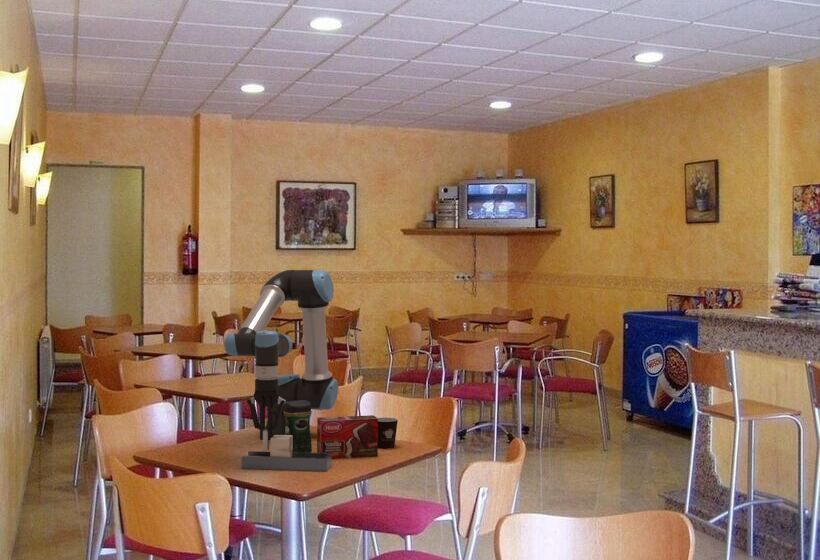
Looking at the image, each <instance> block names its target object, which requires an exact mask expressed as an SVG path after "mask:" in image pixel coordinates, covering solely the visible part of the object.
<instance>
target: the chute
mask: <svg viewBox="0 0 820 560" xmlns="http://www.w3.org/2000/svg"><path fill="white" fill-rule="evenodd" d="M332 462H333V459H332V453H317V452H311V453H309V452H293V455H292V457H270V451H269V450H268V451H263V450H247V455H242V456H241V470H270V471H300V472H301V471H304V472H305V471H307V472H309V471H310V472H312V471H313V472H328V471H329V470H330V468H331V467H332V464H333V463H332Z"/></svg>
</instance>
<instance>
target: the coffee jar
mask: <svg viewBox="0 0 820 560" xmlns="http://www.w3.org/2000/svg"><path fill="white" fill-rule="evenodd" d="M312 411H313V410H312V409H311V404H310V402H309V401H306V400H298V401H289V402H286V403H285V404H284V411H283V412H284V416H285V420H286V426H285V435H293V452H309V453H313V452H312V451H313V449H312V448H313V447H312V436H311V427H310V426H311V425H310V422H311V421H310V419H311V416H312Z"/></svg>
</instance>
